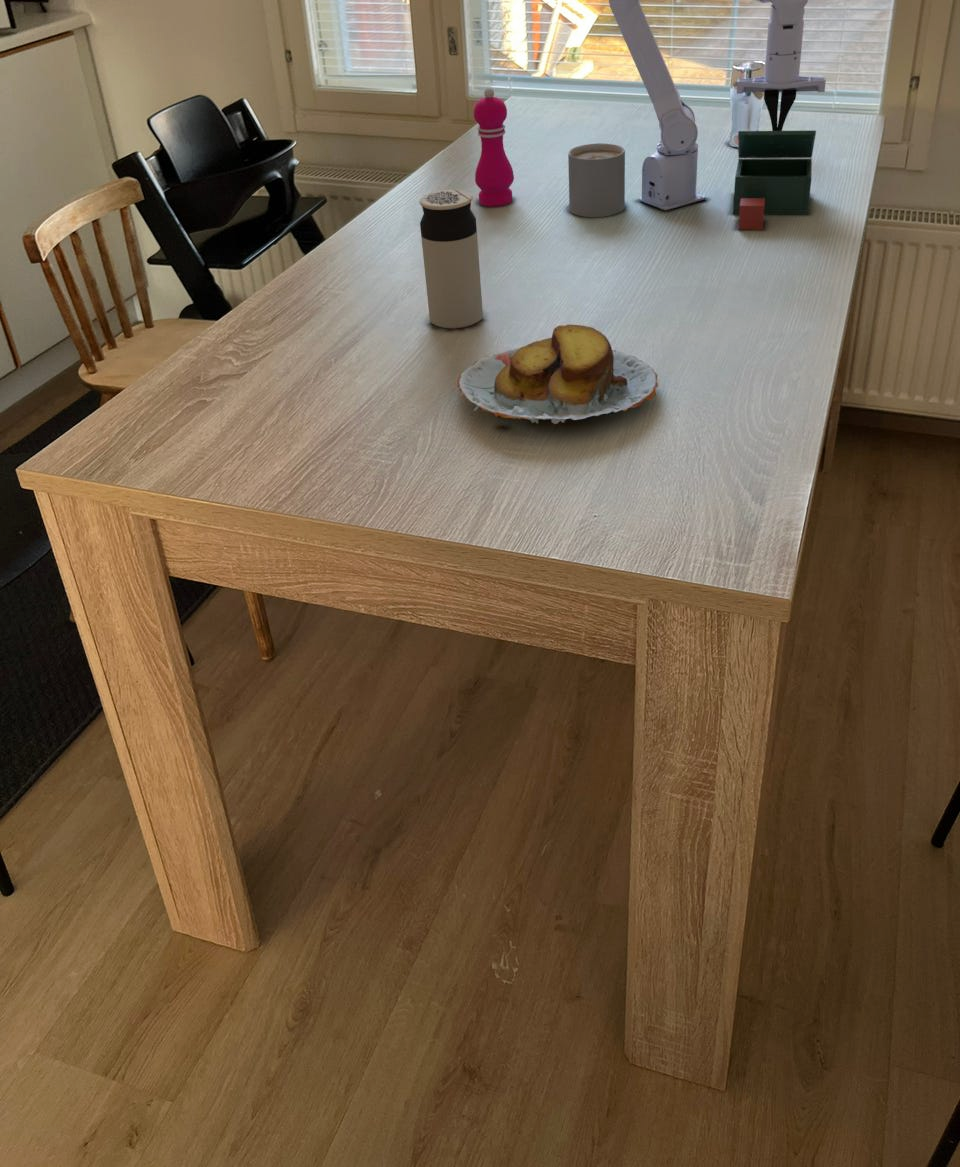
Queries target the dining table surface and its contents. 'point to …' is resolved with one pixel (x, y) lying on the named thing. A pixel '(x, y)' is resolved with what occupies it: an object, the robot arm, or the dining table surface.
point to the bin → (775, 184)
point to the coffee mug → (596, 180)
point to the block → (751, 213)
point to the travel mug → (451, 259)
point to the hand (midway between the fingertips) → (776, 135)
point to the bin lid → (776, 144)
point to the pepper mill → (492, 152)
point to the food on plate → (559, 378)
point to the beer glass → (745, 99)
